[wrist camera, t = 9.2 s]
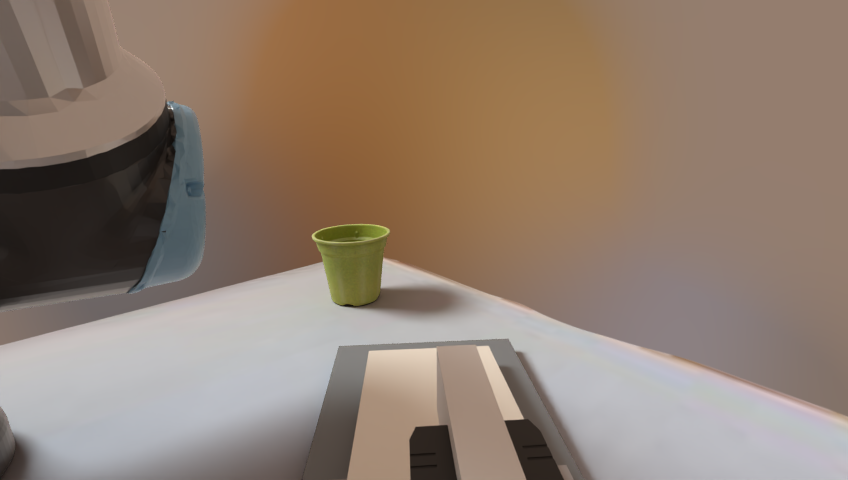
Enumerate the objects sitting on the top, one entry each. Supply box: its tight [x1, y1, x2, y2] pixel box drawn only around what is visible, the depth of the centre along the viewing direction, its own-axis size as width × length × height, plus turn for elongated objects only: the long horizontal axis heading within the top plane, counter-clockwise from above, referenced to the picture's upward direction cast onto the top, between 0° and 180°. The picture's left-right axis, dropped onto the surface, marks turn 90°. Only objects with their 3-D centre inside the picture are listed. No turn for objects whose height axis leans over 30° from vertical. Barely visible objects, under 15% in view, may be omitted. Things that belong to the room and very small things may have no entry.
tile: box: [347, 346, 524, 480], centre depth 26 cm, size 2×10×14 cm
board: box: [302, 339, 584, 480], centre depth 26 cm, size 24×16×2 cm, turn 4°
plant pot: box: [312, 224, 390, 306], centre depth 50 cm, size 9×9×9 cm
